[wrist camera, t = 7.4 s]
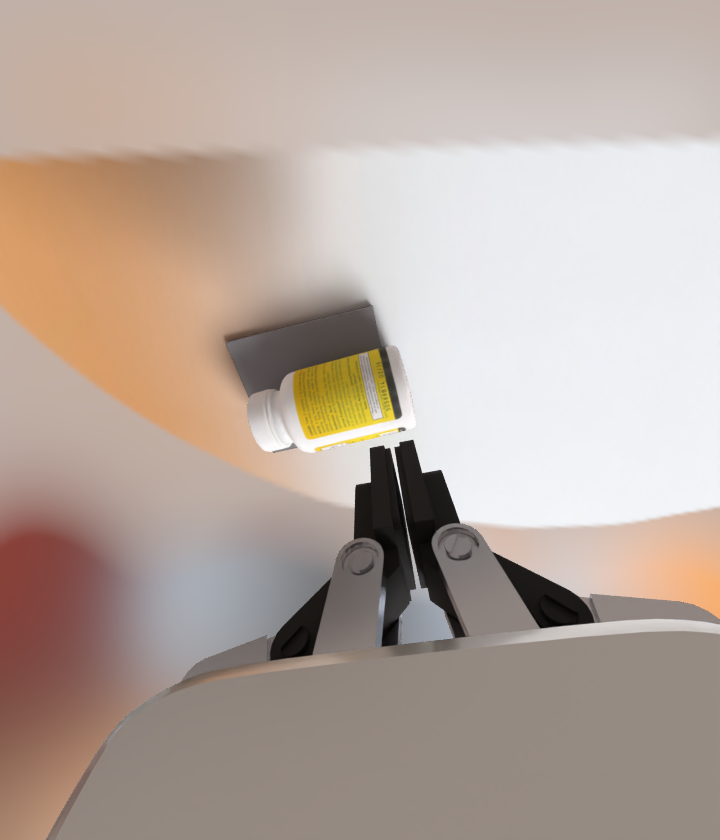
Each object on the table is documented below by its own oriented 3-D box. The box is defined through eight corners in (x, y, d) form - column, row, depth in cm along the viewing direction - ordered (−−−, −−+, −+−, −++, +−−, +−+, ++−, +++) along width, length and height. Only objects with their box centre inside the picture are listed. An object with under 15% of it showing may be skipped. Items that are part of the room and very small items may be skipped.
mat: (372, 305, 21) (372, 306, 20) (396, 423, 25) (396, 426, 24) (228, 341, 22) (225, 343, 21) (274, 449, 26) (273, 452, 25)
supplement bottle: (392, 324, 19) (243, 366, 20) (414, 392, 16) (236, 437, 17) (402, 381, 24) (278, 413, 25) (420, 443, 21) (278, 476, 22)
